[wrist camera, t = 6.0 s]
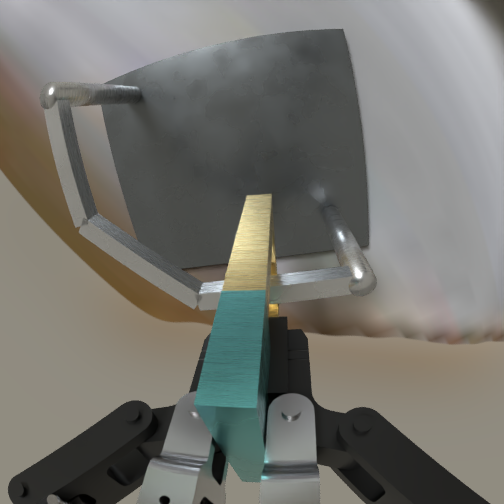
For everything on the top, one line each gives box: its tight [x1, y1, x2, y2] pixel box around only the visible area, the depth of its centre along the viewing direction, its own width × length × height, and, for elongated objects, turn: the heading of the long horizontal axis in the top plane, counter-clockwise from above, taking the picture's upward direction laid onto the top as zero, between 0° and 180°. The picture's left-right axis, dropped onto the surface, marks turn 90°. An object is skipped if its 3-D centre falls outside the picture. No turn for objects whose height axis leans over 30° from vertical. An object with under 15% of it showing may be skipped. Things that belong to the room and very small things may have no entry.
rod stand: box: [40, 29, 377, 310], centre depth 16 cm, size 19×17×10 cm
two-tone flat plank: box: [194, 194, 279, 482], centre depth 11 cm, size 7×1×11 cm, turn 5°
